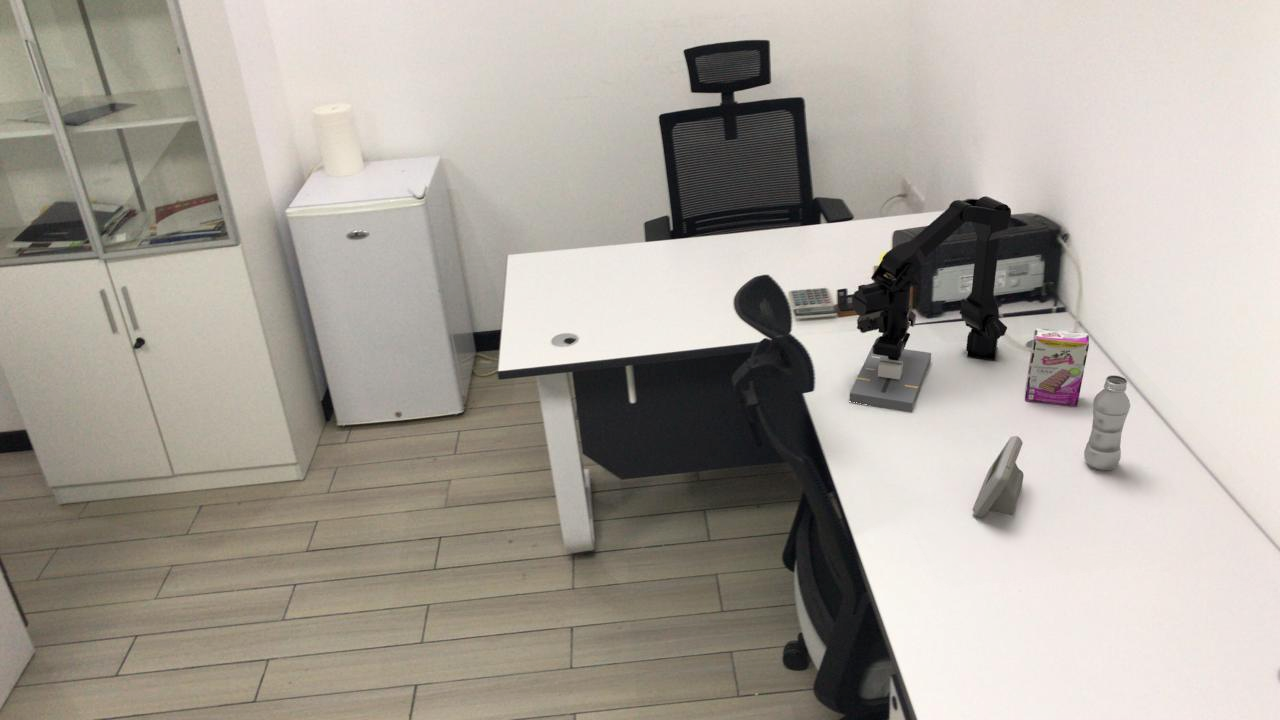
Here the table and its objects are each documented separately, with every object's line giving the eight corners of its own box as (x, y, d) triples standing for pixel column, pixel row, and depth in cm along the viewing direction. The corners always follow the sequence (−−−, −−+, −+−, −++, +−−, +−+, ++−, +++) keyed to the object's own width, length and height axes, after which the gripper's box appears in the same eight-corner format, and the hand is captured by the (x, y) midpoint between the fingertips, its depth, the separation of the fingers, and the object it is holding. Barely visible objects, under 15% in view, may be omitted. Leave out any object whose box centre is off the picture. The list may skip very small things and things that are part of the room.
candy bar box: (1024, 402, 224) (1033, 337, 216) (1024, 390, 228) (1033, 327, 220) (1078, 408, 220) (1090, 342, 212) (1077, 396, 224) (1088, 331, 216)
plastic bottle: (1121, 475, 198) (1139, 389, 189) (1085, 473, 200) (1101, 387, 190) (1114, 456, 204) (1131, 372, 194) (1079, 454, 205) (1094, 370, 195)
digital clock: (991, 471, 202) (997, 427, 197) (1035, 486, 197) (1043, 441, 192) (956, 511, 192) (961, 466, 187) (1001, 529, 187) (1008, 483, 182)
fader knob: (902, 373, 232) (903, 361, 231) (899, 379, 230) (900, 367, 228) (880, 370, 234) (881, 357, 233) (877, 376, 232) (878, 364, 230)
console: (930, 361, 242) (931, 352, 240) (911, 412, 223) (912, 402, 222) (872, 353, 247) (873, 344, 246) (849, 402, 228) (849, 392, 227)
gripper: (870, 283, 236) (867, 341, 244) (851, 318, 222) (848, 378, 230) (918, 289, 232) (913, 348, 240) (902, 325, 218) (897, 386, 225)
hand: (892, 364), depth 234 cm, fingers closed
